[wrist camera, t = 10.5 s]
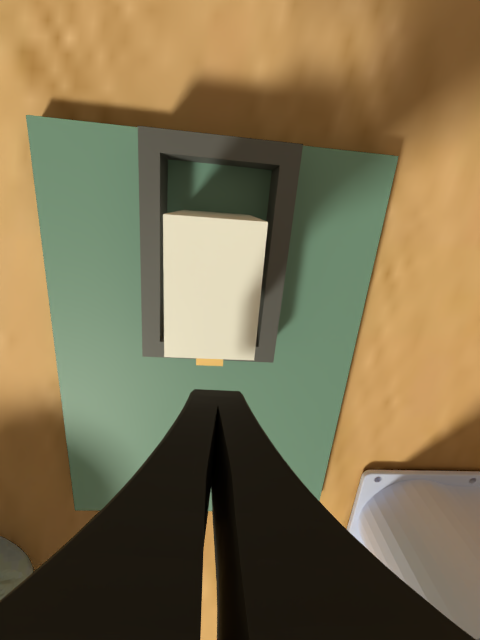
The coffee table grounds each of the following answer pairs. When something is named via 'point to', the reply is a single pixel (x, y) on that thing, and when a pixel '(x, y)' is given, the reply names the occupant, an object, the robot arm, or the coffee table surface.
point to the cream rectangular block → (212, 285)
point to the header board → (148, 285)
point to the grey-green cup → (12, 566)
